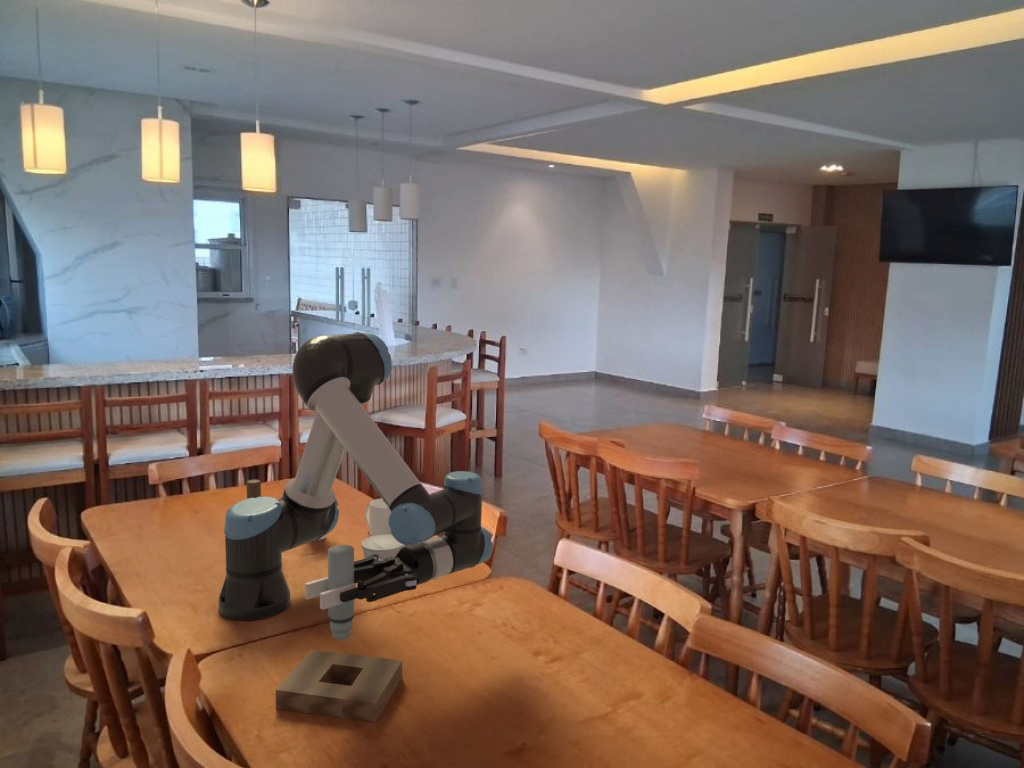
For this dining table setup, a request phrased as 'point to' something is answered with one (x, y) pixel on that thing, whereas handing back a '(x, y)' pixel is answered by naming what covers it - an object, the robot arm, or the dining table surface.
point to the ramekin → (381, 546)
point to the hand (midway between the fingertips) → (313, 596)
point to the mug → (378, 518)
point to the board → (319, 696)
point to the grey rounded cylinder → (337, 577)
